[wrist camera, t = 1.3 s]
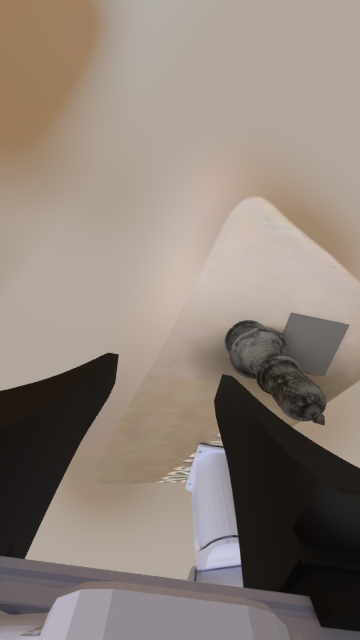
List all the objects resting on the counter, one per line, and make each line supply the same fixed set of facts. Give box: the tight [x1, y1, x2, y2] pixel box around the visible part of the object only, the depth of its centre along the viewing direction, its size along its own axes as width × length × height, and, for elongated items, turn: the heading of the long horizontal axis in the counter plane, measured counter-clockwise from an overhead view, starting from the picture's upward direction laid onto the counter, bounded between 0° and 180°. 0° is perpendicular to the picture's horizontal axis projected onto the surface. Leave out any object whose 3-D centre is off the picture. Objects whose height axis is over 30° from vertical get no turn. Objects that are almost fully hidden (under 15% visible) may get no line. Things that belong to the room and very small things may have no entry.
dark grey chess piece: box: [225, 320, 326, 425], centre depth 15 cm, size 6×6×12 cm
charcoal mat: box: [282, 313, 349, 376], centre depth 21 cm, size 7×7×1 cm
